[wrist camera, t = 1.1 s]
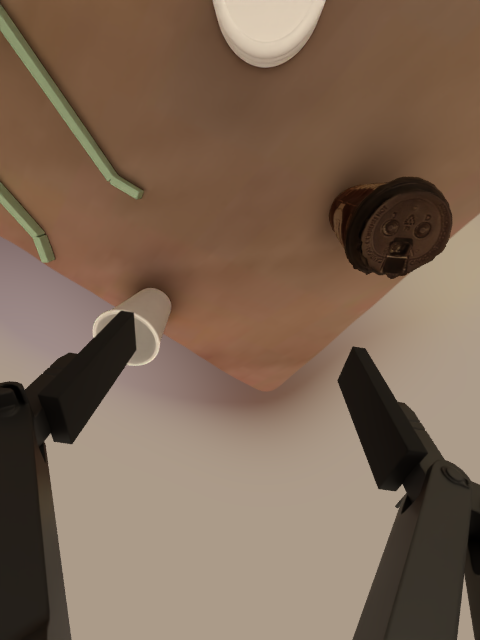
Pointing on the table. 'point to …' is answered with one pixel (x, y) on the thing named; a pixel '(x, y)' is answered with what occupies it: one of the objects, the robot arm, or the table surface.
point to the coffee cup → (391, 225)
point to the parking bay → (21, 47)
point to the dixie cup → (142, 322)
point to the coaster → (267, 28)
